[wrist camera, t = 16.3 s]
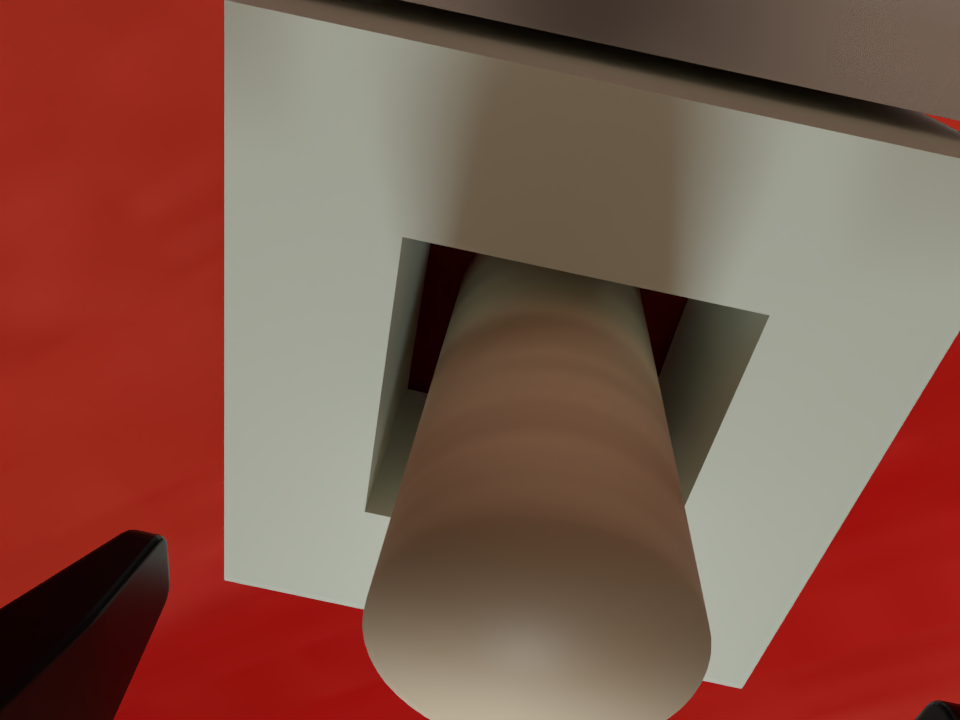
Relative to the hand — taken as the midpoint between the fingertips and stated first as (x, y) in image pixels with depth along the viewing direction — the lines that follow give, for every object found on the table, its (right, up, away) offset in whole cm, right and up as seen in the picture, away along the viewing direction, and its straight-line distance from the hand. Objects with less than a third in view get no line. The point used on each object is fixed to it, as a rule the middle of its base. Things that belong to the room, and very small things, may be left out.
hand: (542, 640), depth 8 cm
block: (+1, +4, +8) cm, 9 cm away
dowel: (+1, +4, +8) cm, 9 cm away
